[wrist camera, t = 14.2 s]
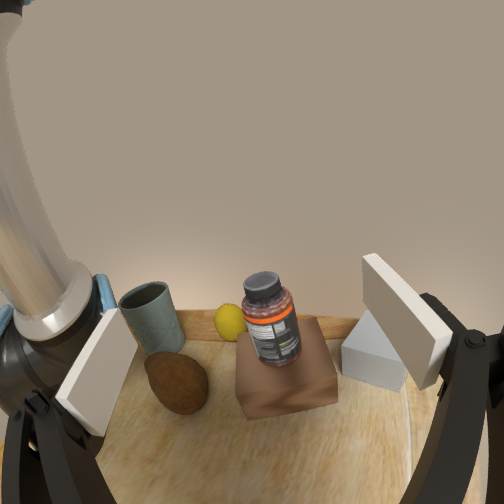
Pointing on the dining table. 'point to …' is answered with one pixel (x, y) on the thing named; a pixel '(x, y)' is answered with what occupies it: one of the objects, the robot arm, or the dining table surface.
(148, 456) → the dining table surface
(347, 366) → the grey block
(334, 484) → the dining table surface
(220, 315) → the lemon
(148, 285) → the grey green planter pot
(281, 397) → the walnut block
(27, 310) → the robot arm
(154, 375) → the potato
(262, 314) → the supplement bottle
